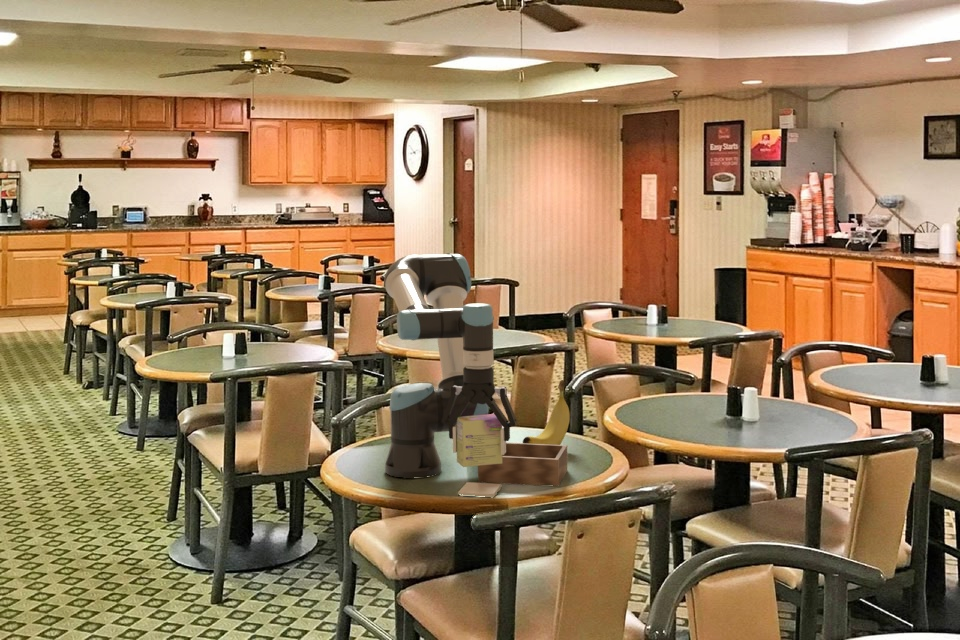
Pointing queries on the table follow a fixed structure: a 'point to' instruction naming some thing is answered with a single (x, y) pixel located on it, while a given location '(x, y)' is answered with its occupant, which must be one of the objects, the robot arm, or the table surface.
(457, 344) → the robot arm
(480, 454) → the box
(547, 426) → the banana
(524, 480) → the crate
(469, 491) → the tile
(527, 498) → the table surface
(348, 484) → the table surface
